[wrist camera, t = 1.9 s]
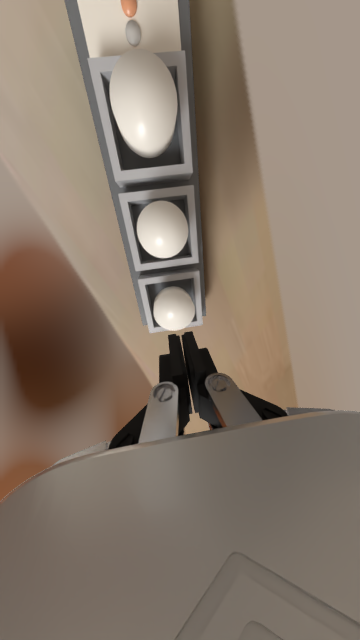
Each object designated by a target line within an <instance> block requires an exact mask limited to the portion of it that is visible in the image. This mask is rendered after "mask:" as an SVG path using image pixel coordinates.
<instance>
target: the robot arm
mask: <svg viewBox="0 0 360 640" xmlns="http://www.w3.org/2000/svg"><path fill="white" fill-rule="evenodd" d="M168 339H169V350H170V354H165V355H160V356H159V384H157V385H156V386H154V387H153V389H152V391H151V393H150V396H149V401H148V404H147V405H146V406H145V407H144V408H143V409H142V410H141V411H140V412H139V413H138V414H137V415H136V416H135V417H134V418H133V419H132V420H131V421H130V422H129V423H128V424H127V425H125V427H123V428H122V429H121V430H120V431H119V432H118V434H116V435H115V437H114V438H113V439H112V441H110V442H108V443H107V442H106V441H104V442H101V443H99V444H96V445H94V446H92V447H89V448H87V449H84V450H82V451H79V452H77V453H75V454H72V455H70V456H68V457H65V458H63V459H61V460H59V461H58V462H56V463H55V464H54V465H53V466H52V467H50V468H48V469H45V470H44V471H42V472H40V473H38V474H36V475H35V476H33V477H31V478H29V479H28V480H26V481H25V482H23V483H22V484H20V485H19V486H18V487H16V488H15V489H14V490H12V491H11V492H10V493H9V494H8V495H7V496H6V497H4V498H3V499H2V500H1V502H0V640H360V412H355V411H342V410H340V411H339V410H338V411H335V410H331V409H315V408H289V407H286V410H283V409H281V408H280V407H278V406H276V405H274V404H272V403H270V402H267V401H265V400H263V399H260V398H258V397H256V396H254V395H251V394H249V393H247V392H244V391H242V390H240V389H239V388H238V387H237V385H236V384H235V383H234V381H233V380H232V379H231V378H230V377H229V376H228V375H226V374H223V373H218V372H217V369H216V367H215V365H214V363H213V360H212V358H211V356H210V354H209V351H208V349H207V348H202V349H198V346H197V343H196V341H195V338H194V335H193V332H192V331H191V332H184V335H182V342H183V350H184V356H183V351H182V346H181V342H180V337H179V336H176V334H172V335H168ZM184 357H185V361H184ZM185 365H186V366H185ZM188 381H189V384H188ZM189 385H190V390H191V395H192V400H193V405H194V409H195V413H198V412H199V416H200V418H202V419H203V420H205V421H207V422H208V426H209V429H210V430H208V431H203V432H198V433H192V434H187V435H185V426H186V425H187V423H188V422H189V421H190V418H189V414H192V407H191V399H190V391H189Z"/></svg>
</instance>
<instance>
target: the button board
mask: <svg viewBox="0 0 360 640" xmlns="http://www.w3.org/2000/svg"><path fill="white" fill-rule="evenodd" d="M65 4H66V8H67V13H68V17H69V21H70V25H71V29H72V33H73V37H74V42H75V46H76V50H77V54H78V58H79V62H80V66H81V71H82V75H83V79H84V83H85V87H86V91H87V95H88V100H89V104H90V108H91V112H92V116H93V120H94V124H95V129H96V133H97V137H98V141H99V145H100V149H101V153H102V158H103V162H104V166H105V170H106V174H107V178H108V182H109V186H110V191H111V195H112V199H113V203H114V207H115V211H116V215H117V220H118V224H119V228H120V232H121V236H122V240H123V244H124V249H125V253H126V257H127V261H128V265H129V269H130V273H131V278H132V282H133V286H134V290H135V294H136V298H137V302H138V307H139V311H140V315H141V319H142V323H143V325H148V328H149V332H150V333H154V332H161V331H167V329H165V328H163V327H161V326H160V325H159V324H158V323H157V322H156V320H155V318H154V300H155V298H156V296H157V294H158V293H159V292H160V291H161V290H163V289H164V288H167V287H172V286H175V287H180V288H182V289H184V290H185V291H186V292H187V293H188V294H189V296H190V298H191V300H192V302H193V304H194V307H195V315H194V318H193V320H192V321H191V323H190V324H189V325H188V326H186V327H192V326H199V325H203V322H202V316H206V306H205V287H204V268H203V250H202V231H201V212H200V193H199V175H198V156H197V137H196V118H195V100H194V81H193V62H192V43H191V25H190V6H189V0H65ZM132 49H145V50H148V51H150V52H152V53H154V54H155V55H157V56H158V57H159V58H160V59H161V60H162V61H163V62H164V64H165V65H166V67H167V68H168V70H169V72H170V73H171V76H172V78H173V81H174V84H175V88H176V92H177V104H178V105H177V116H176V122H175V129H174V134H173V138H172V141H171V143H170V145H169V147H168V148H167V149H166V151H165V152H164V153H162V154H161V155H159V156H157V157H154V158H145V157H142V156H139V155H138V154H136V153H135V152H133V151H132V150H131V149H130V148H129V147H128V145H127V144H126V143H125V141H124V139H123V137H122V135H121V133H120V130H119V127H118V125H117V122H116V119H115V116H114V114H113V111H112V107H111V102H110V79H111V75H112V71H113V69H114V66H115V64H116V63H117V61H118V60H119V58H120V57H121V56H122V55H123V54H125V53H126V52H127V51H130V50H132ZM155 201H168V202H171V203H173V204H174V205H176V206H177V207H178V208H179V209H180V210H181V211H182V212H183V214H184V216H185V218H186V220H187V224H188V237H187V241H186V243H185V245H184V247H183V249H182V250H181V251H180V252H179V253H178V254H176V255H174V256H172V257H169V258H158V257H155V256H153V255H151V254H149V253H148V252H147V251H146V250H145V249H144V248H143V246H142V245H141V243H140V241H139V238H138V235H137V222H138V218H139V215H140V213H141V212H142V210H143V209H144V208H145V207H146V206H147V205H149V204H150V203H152V202H155ZM186 327H185V328H186Z"/></svg>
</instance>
